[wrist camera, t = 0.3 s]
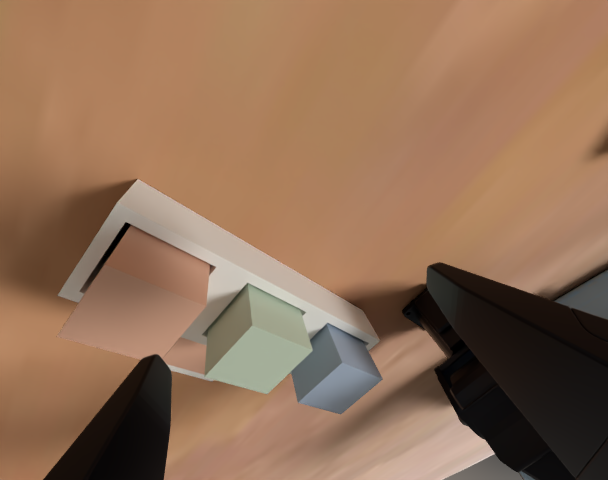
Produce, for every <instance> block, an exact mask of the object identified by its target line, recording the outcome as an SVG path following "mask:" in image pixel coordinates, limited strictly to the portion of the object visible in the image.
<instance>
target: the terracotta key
mask: <svg viewBox="0 0 608 480" xmlns="http://www.w3.org/2000/svg"><path fill="white" fill-rule="evenodd" d="M209 270H210V264H209V263H207V262H205V261H203V260H201V259H199V258H197V257H195V256H193V255H191V254H189V253H187V252H185V251H183V250H181V249H179V248H177V247H175V246H173V245H171V244H169V243H167V242H165V241H163V240H161V239H159V238H157V237H155V236H153V235H151V234H149V233H147V232H145V231H143V230H141V229H139V228H137V227H135V226H133V225H130V227H129V228H128V230H127V231H126V233H125V234H124V236H123V237H122V239H121V240H120V242H119V243H118V245H117V246H116V248H115V249H114V250H113V252H112V253H111V255H110V256H109V258H108V259H107V261H106V262H105V264H104V265H103V267H102V268H101V270H100V271H99V273H98V274H97V276H96V277H95V279H94V280H93V282H92V283H91V285H90V286H89V288H88V289H87V291H86V292H85V294H84V295H83V297H82V298H81V300H80V302H79V303H78V305H77V306H76V308H75V309H74V311H73V312H72V314H71V315H70V317H69V318H68V320H67V321H66V323H65V324H64V326H63V327H62V329H61V330H60V332H59V333H58V335H57V336H56V337H60V338H63V339H67V340H71V341H74V342H78V343H82V344H85V345H89V346H93V347H96V348H100V349H104V350H107V351H111V352H114V353H118V354H122V355H125V356H129V357H133V358H136V359H140V360H141V359H143V358H144V357H147V356H150V355H153V354H158V355H160V357H161V358H163V357H164V356H165V355H166V353H167V352H168V351H169V350H170V349H171V347H172V346H173V345H174V344H175V343H176V342H177V340H178V339H179V338H180V337H181V336H182V334H183V333H184V332H185V331H186V330H187V329H188V327H189V326H190V325H191V324H192V323H193V321H194V320H195V319H196V318H197V317H198V316H199V314H200V313H201V312H202V311H203V310H204V309H205V307H206V304H207V293H208V281H209Z"/></svg>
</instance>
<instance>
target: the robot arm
mask: <svg viewBox="0 0 608 480" xmlns="http://www.w3.org/2000/svg"><path fill="white" fill-rule="evenodd" d="M402 313H403V315H404V316H405V317H406V318H408V319H409V320H411V321H413V322H414V323H416V324H417V325H419V326H420V327H422V328H423V329H425V330H426V331H427V332H428V333H429V335H430V336H431V337H432V338H433V340H434V341H435V342H436V343H437V345H438V346H439V347H440V349H441V350H442V351H443V352H444V354H445V355H446V356H447V357H448V359H447V360H446V361H445V362H444V363H443V364H441V365H440V366H437V367H436V368H435V369H434V371H435V373H436V375H437V377H438V380H439V382H440V384H441V386H442V387H443V389H444V391H445V393H446V395H447V397H448V399H449V400H450V402H451V404H452V406H453V408H454V410H455V412H456V413H457V415H458V418H459V420H460V421H461V423H462V424H463V425H466V426H469V427H470V428H471V429H472V430H473V431H474V432H475V433H476V434H477V435H478V436H479V437H481V438H482V439H485V440H486V441H487V443H488V444H489V445H490V447H491V448H492V450H493V451H494V453H495V454H496V456H497V457H498V458H499V460H500V461H502V462H503V463H504V464H506V465H507V466H508V467H510V468H511V469H513V470H514V471H516V472H518V473H519V472H521V471H522V472H523V473H525V474H527V475H528V476H530V477H532V478H533V479H535V480H608V319H605V318H602V317H599V316H596V315H593V314H589V313H587V312H584V311H581V310H578V309H575V308H570V307H569V306H566V305H563V304H560V303H557V302H554V301H551V300H549V299H546V298H543V297H540V296H537V295H534V294H531V293H528V292H525V291H522V290H519V289H517V288H514V287H511V286H508V285H505V284H502V283H499V282H496V281H493V280H490V279H487V278H485V277H482V276H479V275H476V274H473V273H470V272H467V271H464V270H461V269H458V268H455V267H453V266H450V265H447V264H444V263H440V262H439V263H435V264H432V265H429V266H428V267H427V289H426V290H425V291H424V292H423V293H421V294H420V295H419V296H418V297H417V298H416V299H415V300H414V301H413V302H411V303H410V304H409V305H408V306H407V307H406V308H405V309H404V310H403V311H402ZM171 387H172V374H171V370H170V368H169V367H168V365H167V364H166V363H165V362H164V360H163V359H162V358H161V357H160V355H158V354H153V355H150V356H147V357H144V358H143V359H141V361H140V362H139V363H138V364H137V365H136V367H135V368H134V369H133V370H132V372H131V373H130V374H129V375H128V376H127V378H126V379H125V380H124V381H123V383H122V384H121V385H120V386H119V387H118V389H117V390H116V391H115V392H114V394H113V395H112V396H111V397H110V398H109V400H108V401H107V402H106V403H105V405H104V406H103V407H102V408H101V409H100V411H99V412H98V413H97V414H96V416H95V417H94V418H93V419H92V421H91V422H90V423H89V424H88V425H87V427H86V428H85V429H84V430H83V432H82V433H81V434H80V435H79V436H78V438H77V439H76V440H75V441H74V443H73V444H72V445H71V446H70V447H69V449H68V450H67V451H66V452H65V454H64V455H63V456H62V457H61V458H60V460H59V461H58V462H57V463H56V465H55V466H54V467H53V468H52V470H51V471H50V472H49V473H48V474H47V476H46V477H45V478H44V479H43V480H164V473H165V466H166V458H167V450H168V442H169V434H170V423H171Z"/></svg>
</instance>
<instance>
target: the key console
mask: <svg viewBox="0 0 608 480" xmlns="http://www.w3.org/2000/svg"><path fill="white" fill-rule="evenodd" d="M126 222H127V223H129V224H131V225H133V226H135V227H137V228H139V229H141V230H143V231H145V232H147V233H149V234H151V235H153V236H155V237H157V238H159V239H161V240H163V241H165V242H167V243H169V244H171V245H173V246H175V247H177V248H179V249H181V250H183V251H185V252H187V253H189V254H191V255H193V256H195V257H197V258H199V259H201V260H203V261H205V262H207V263H209V264H210V270H209V281H208V293H207V304H206V307H205V309H204V310H203V311H202V312H201V313H200V314H199V316H198V317H197V318H196V319H195V320H194V321H193V323H192V324H191V325H190V326H189V327H188V329H187V330H186V331H185V332H184V333H183V334H182V336H181V337H182V338H185V339H188V340H191V341H194V342H197V343H200V344H203V345H206V346H207V334H208V327H209V326H210V325H211V324H212V323H213V321H214V320H215V319H216V318H217V317H218V316H219V315H220V313H221V312H222V311H223V310H224V309H225V308H226V307H227V305H228V304H229V303H230V302H231V301H232V300H233V299H234V297H235V296H236V295H237V294H238V293H239V292H240V291H241V289H242V288H243V287H244V286H245V285H246V284H247V283H249V284H251V285H253V286H255V287H257V288H259V289H261V290H263V291H265V292H267V293H269V294H271V295H273V296H275V297H277V298H279V299H281V300H283V301H285V302H287V303H289V304H291V305H293V306H295V307H297V308H299V309H300V311H301V314H302V317H303V321H304V324H305V327H306V330H307V333H308V336H309V339H311V338H312V337H313V336H314V335H315V334H316V333H317V332H318V331H319V330H320V329H322V328H323V327H324V326H325V325H326V324H327V323H329V324H331V325H333V326H335V327H337V328H339V329H341V330H343V331H345V332H347V333H349V334H351V335H353V336H355V337H357V338H359V339H361V340H363V342H364V344H365V346H366V348H367V350H368V351H369V350H370V349H371V348H373V347H374V346H375V345H376V344H377V343H378V342H379V341H380V339H379V337H378V336H377V334H376V332H375V331H374V329H373V327H372V326H371V324H370V322H369V320H368V319H367V317H366V315H365V314H364V312H363V310H361V309H360V308H358V307H356V306H354V305H353V304H351V303H349V302H348V301H346V300H344V299H342V298H341V297H339V296H337V295H336V294H334V293H332V292H330V291H329V290H327V289H325V288H324V287H322V286H320V285H318V284H317V283H315V282H313V281H312V280H310V279H308V278H307V277H305V276H303V275H301V274H300V273H298V272H296V271H295V270H293V269H291V268H289V267H288V266H286V265H284V264H283V263H281V262H279V261H277V260H276V259H274V258H272V257H271V256H269V255H267V254H265V253H264V252H262V251H260V250H259V249H257V248H255V247H253V246H252V245H250V244H248V243H247V242H245V241H243V240H242V239H240V238H238V237H236V236H235V235H233V234H231V233H230V232H228V231H226V230H224V229H223V228H221V227H219V226H218V225H216V224H214V223H212V222H211V221H209V220H207V219H206V218H204V217H202V216H200V215H199V214H197V213H195V212H194V211H192V210H190V209H188V208H187V207H185V206H183V205H182V204H180V203H178V202H176V201H175V200H173V199H171V198H170V197H168V196H166V195H165V194H163V193H161V192H159V191H158V190H156V189H154V188H153V187H151V186H149V185H147V184H146V183H144V182H142V181H141V180H139V179H137V180H136V182H135V183H134V184H133V185H132V186H131V187H130V188H129V190H128V191H127V192H126V193H125V194H124V195H123V196H122V198H121V199H120V200H119V201H118V202H117V203H116V205H115V207H114V208H113V210H112V211H111V213H110V214H109V216H108V218H107V219H106V221H105V222H104V224H103V225H102V227H101V228H100V230H99V232H98V233H97V235H96V236H95V238H94V239H93V241H92V242H91V244H90V246H89V247H88V249H87V250H86V252H85V253H84V255H83V256H82V258H81V260H80V261H79V263H78V264H77V266H76V267H75V269H74V270H73V272H72V274H71V275H70V277H69V278H68V280H67V281H66V283H65V284H64V286H63V288H62V289H61V291H60V292H59V294H58V295H57V296H60V297H63V298H66V299H69V300H72V301H75V302H78V303H79V302H80V300H81V298H82V297H83V295H84V294H85V292H86V291H87V289H88V288H89V286H90V285H91V283H92V282H93V280H94V279H95V277H96V276H97V274H98V273H99V271H100V270H101V268H102V267H103V265H104V264H105V262H106V261H107V259H108V258H109V257H107V256H104V255H105V253H106V252H107V250H108V249H109V247H110V246H111V244H112V243H113V241H114V240H115V238H116V237H117V235H118V234H119V232H120V231H121V229H122V228H123V226H124V225H125V223H126ZM289 374H292V373H291V372H290V373H289Z"/></svg>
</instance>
